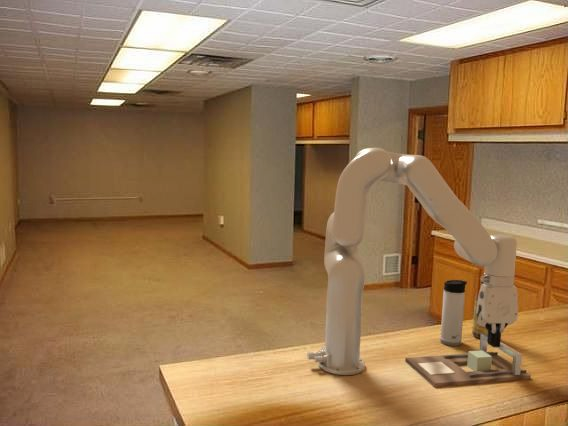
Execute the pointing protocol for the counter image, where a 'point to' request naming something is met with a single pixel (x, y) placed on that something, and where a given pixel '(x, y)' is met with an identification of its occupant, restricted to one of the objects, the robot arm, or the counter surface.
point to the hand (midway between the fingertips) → (493, 345)
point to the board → (449, 373)
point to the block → (479, 360)
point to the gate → (506, 349)
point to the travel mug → (452, 312)
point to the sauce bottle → (476, 328)
